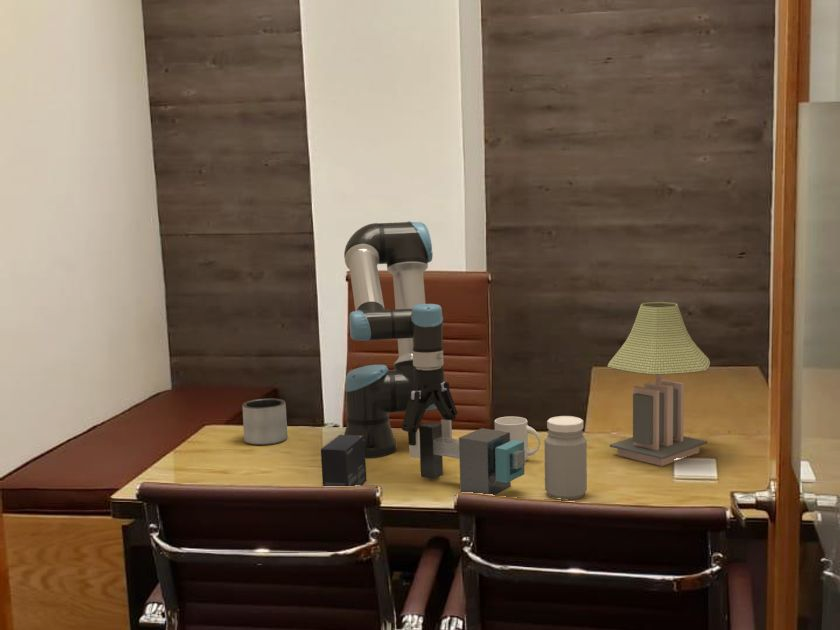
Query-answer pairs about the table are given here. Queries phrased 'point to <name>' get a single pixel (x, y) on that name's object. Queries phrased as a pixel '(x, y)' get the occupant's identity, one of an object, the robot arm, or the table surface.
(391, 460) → the table surface
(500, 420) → the mug
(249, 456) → the table surface
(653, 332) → the desk lamp
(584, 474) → the jar
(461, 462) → the block
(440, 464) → the shaft
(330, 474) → the small box
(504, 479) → the collar
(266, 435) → the planter
